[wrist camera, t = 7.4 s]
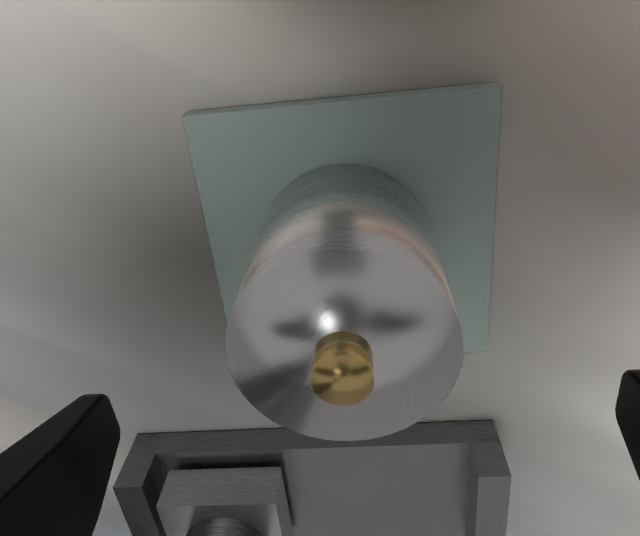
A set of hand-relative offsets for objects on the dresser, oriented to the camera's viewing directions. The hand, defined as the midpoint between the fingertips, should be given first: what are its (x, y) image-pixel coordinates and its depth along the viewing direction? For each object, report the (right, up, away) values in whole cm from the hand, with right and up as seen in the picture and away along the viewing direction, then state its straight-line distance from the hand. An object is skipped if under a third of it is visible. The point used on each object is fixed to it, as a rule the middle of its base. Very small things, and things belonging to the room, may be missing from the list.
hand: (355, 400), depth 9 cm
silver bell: (0, +3, +6) cm, 7 cm away
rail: (-1, -6, +11) cm, 13 cm away
